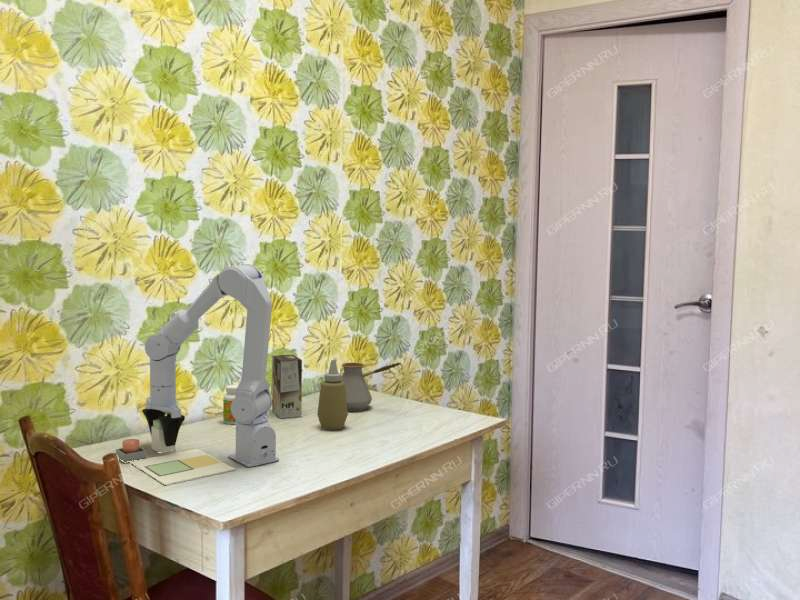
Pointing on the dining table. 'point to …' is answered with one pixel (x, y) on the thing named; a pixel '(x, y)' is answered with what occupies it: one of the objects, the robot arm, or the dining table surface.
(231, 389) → the supplement bottle
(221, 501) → the dining table surface
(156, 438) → the beige boxy piece
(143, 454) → the button housing
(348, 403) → the coffee pot
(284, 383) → the coffee box
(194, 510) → the dining table surface
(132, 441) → the button
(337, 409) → the squeeze bottle
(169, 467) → the paper board
